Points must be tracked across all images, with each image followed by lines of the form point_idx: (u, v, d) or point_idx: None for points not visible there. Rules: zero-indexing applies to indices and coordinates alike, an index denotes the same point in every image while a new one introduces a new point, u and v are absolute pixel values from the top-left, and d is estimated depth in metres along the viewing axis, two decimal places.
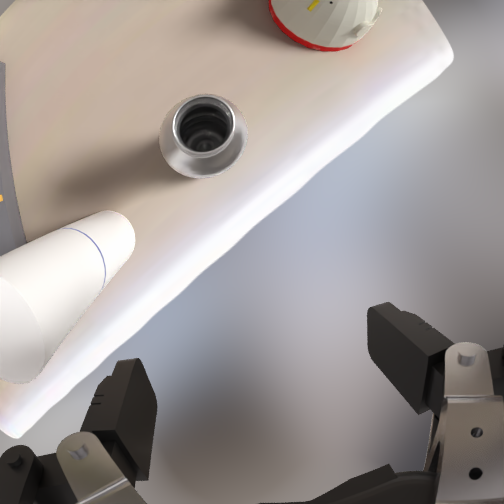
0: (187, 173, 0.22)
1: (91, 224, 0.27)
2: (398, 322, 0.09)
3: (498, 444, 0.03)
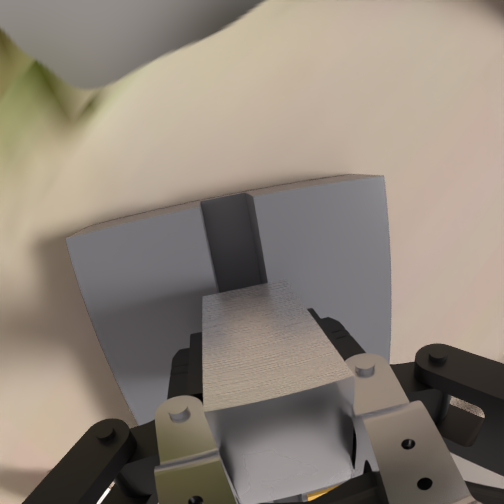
0: None
1: None
2: None
3: (436, 449, 0.04)
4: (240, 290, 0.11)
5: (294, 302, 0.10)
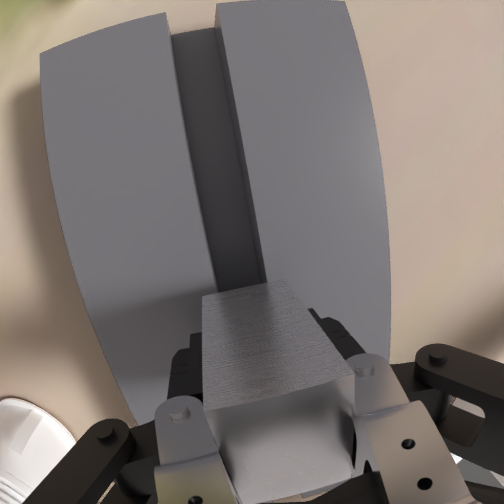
0: None
1: None
2: None
3: (436, 449, 0.04)
4: (240, 290, 0.11)
5: (294, 301, 0.10)
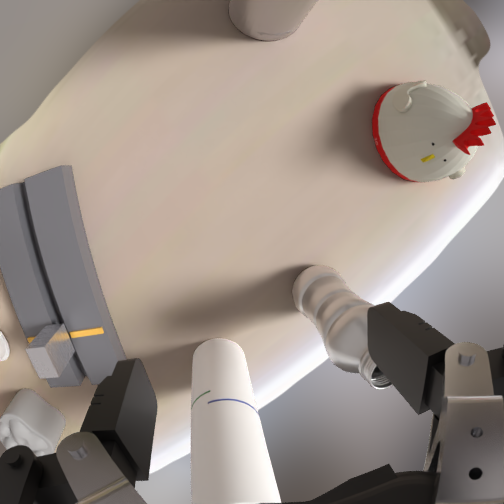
0: None
1: (235, 381, 0.32)
2: (398, 322, 0.09)
3: (498, 444, 0.03)
4: (52, 325, 0.33)
5: (56, 330, 0.31)
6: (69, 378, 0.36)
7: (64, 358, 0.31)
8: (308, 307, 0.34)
